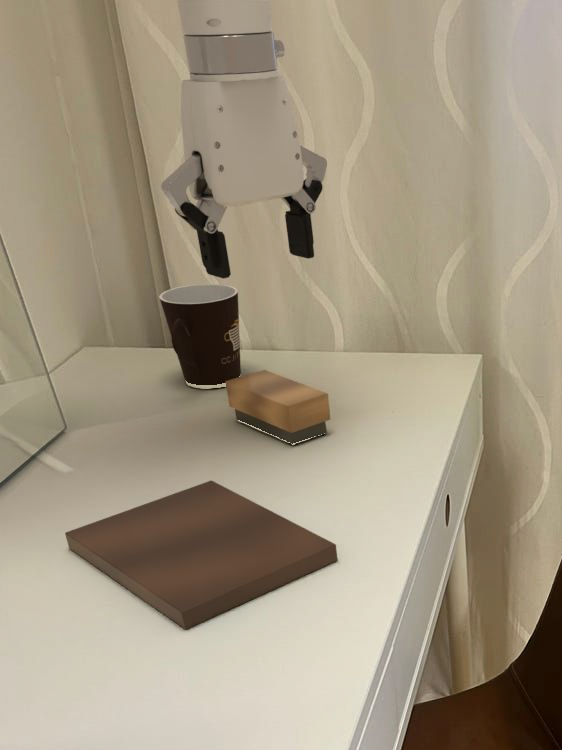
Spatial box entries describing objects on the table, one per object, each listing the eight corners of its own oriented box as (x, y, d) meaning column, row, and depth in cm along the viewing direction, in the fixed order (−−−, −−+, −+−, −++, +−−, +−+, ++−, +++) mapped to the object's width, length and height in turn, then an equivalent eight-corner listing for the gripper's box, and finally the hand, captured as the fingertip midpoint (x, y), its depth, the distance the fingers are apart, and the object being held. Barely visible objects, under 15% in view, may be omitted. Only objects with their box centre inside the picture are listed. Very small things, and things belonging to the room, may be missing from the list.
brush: (231, 421, 104) (224, 381, 101) (269, 408, 107) (264, 369, 104) (293, 448, 97) (287, 406, 95) (332, 434, 100) (328, 393, 98)
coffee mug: (216, 364, 120) (202, 280, 114) (265, 377, 116) (253, 290, 110) (139, 391, 112) (120, 302, 106) (189, 406, 108) (172, 314, 102)
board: (68, 548, 80) (64, 532, 79) (214, 494, 89) (211, 479, 88) (185, 630, 70) (181, 612, 69) (338, 560, 78) (336, 544, 77)
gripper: (287, 51, 91) (309, 244, 101) (118, 64, 81) (161, 277, 90) (337, 53, 87) (356, 254, 96) (166, 67, 76) (205, 291, 86)
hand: (261, 265), depth 93 cm, fingers open, 9 cm apart
